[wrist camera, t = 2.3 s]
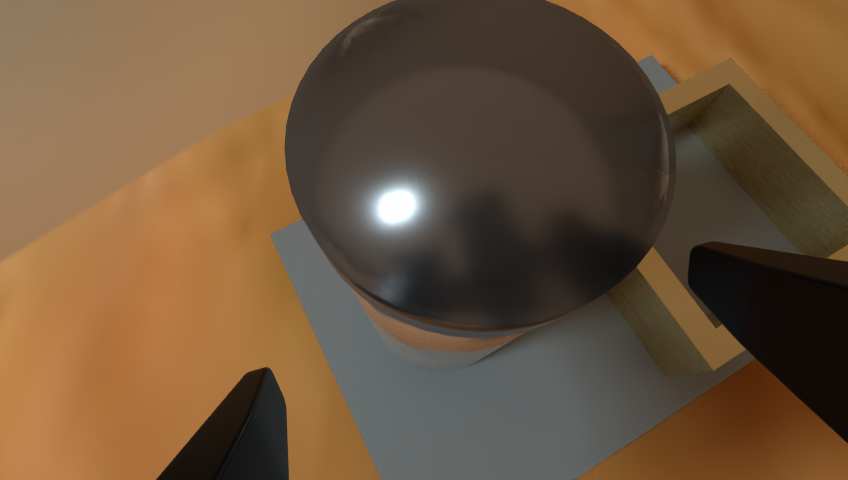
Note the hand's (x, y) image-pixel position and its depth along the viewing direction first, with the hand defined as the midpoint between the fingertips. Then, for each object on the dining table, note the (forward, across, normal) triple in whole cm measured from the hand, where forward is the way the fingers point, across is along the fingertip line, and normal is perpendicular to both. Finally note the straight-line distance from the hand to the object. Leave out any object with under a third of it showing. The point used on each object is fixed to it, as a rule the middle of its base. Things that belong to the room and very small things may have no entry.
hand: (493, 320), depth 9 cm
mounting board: (+9, -6, +5) cm, 12 cm away
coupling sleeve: (+8, 0, +4) cm, 9 cm away
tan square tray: (+8, -11, +4) cm, 14 cm away
